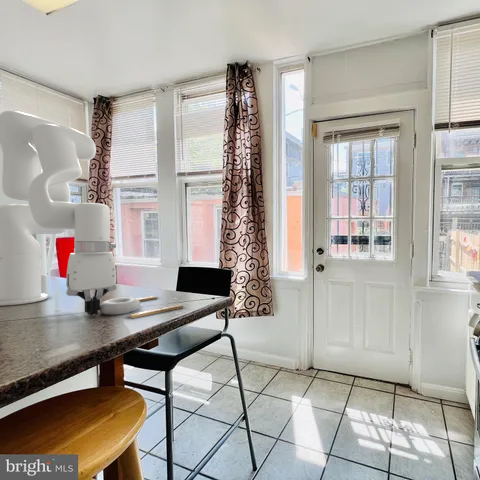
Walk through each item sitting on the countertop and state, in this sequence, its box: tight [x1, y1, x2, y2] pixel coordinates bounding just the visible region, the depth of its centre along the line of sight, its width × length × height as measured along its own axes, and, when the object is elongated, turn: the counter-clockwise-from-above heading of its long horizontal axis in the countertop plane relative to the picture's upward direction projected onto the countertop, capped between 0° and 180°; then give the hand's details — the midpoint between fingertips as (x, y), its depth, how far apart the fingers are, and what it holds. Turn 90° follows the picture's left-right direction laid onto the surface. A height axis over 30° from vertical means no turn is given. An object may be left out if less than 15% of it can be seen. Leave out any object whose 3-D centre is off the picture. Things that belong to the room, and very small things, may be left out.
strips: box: [129, 295, 184, 319], centre depth 86 cm, size 20×14×1 cm
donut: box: [98, 296, 141, 316], centre depth 80 cm, size 10×4×10 cm
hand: (92, 313), depth 75 cm, fingers closed
